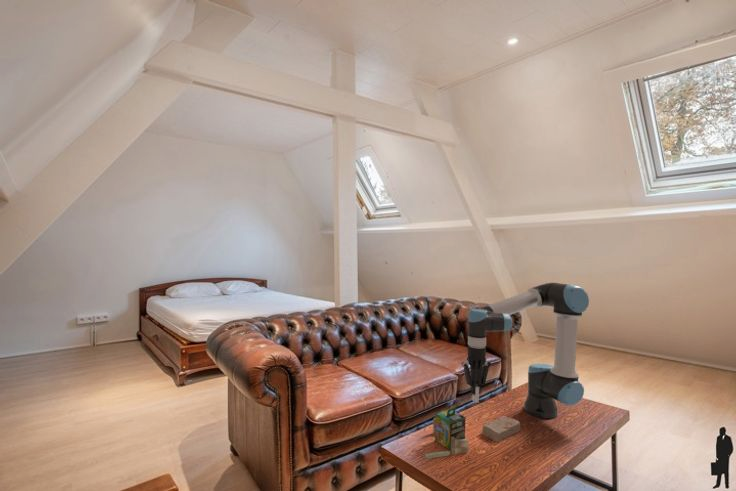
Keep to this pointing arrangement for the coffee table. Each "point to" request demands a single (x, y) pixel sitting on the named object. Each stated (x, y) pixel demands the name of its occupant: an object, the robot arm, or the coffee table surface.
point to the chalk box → (449, 427)
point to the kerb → (437, 454)
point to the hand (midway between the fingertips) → (475, 401)
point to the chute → (456, 444)
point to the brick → (501, 428)
